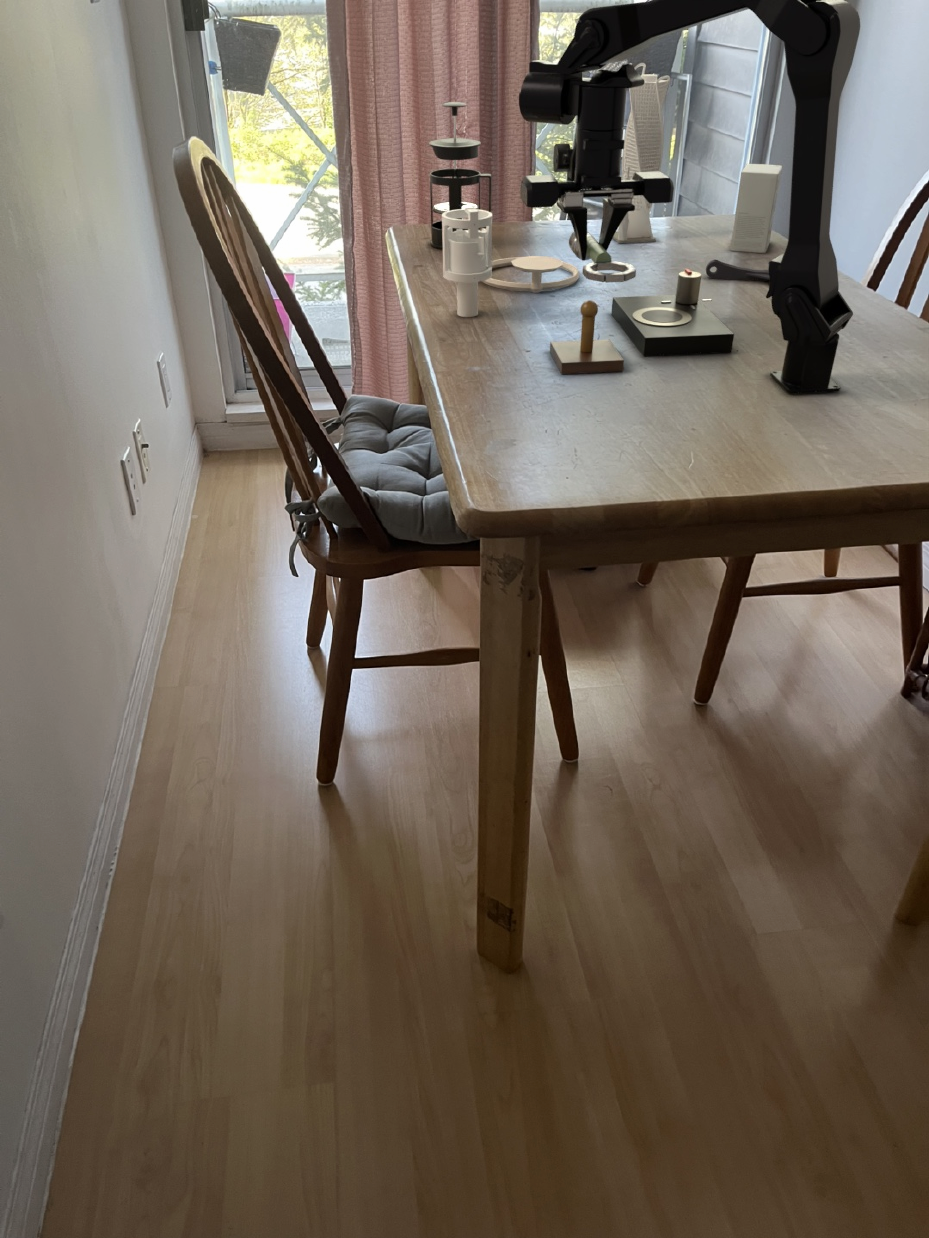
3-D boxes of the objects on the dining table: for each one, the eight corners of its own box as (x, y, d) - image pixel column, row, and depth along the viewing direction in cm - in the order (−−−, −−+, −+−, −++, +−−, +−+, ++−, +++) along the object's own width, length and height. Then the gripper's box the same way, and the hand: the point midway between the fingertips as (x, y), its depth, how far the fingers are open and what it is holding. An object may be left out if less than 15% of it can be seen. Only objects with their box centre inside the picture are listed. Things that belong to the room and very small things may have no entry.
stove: (743, 352, 126) (747, 332, 124) (643, 356, 125) (645, 336, 123) (701, 310, 141) (703, 292, 139) (610, 314, 139) (612, 295, 138)
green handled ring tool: (638, 294, 116) (641, 264, 114) (588, 296, 115) (590, 266, 113) (598, 250, 133) (600, 224, 131) (555, 252, 132) (556, 225, 130)
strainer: (451, 323, 136) (449, 213, 128) (438, 309, 142) (436, 202, 133) (497, 318, 138) (499, 209, 129) (483, 304, 143) (483, 199, 135)
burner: (699, 325, 127) (699, 324, 127) (641, 328, 126) (641, 326, 126) (681, 307, 134) (681, 306, 134) (626, 309, 133) (626, 308, 133)
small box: (734, 240, 175) (746, 163, 167) (770, 243, 173) (783, 165, 165) (729, 251, 168) (740, 171, 161) (765, 253, 167) (779, 173, 159)
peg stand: (623, 371, 120) (628, 309, 116) (561, 374, 120) (564, 311, 115) (608, 350, 127) (613, 290, 122) (549, 352, 126) (552, 292, 121)
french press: (424, 250, 170) (420, 106, 157) (428, 237, 178) (425, 99, 164) (490, 251, 169) (491, 106, 156) (491, 238, 177) (492, 99, 164)
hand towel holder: (569, 236, 161) (596, 268, 144) (568, 262, 163) (594, 297, 146) (470, 238, 159) (486, 271, 142) (470, 265, 162) (486, 301, 145)
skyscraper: (605, 232, 180) (618, 62, 164) (646, 230, 181) (662, 62, 165) (619, 243, 173) (634, 67, 157) (661, 241, 174) (680, 66, 158)
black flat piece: (704, 265, 161) (706, 248, 159) (794, 269, 158) (797, 252, 157) (705, 290, 149) (708, 272, 147) (803, 295, 147) (807, 276, 145)
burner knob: (700, 304, 135) (704, 274, 132) (679, 305, 134) (682, 275, 132) (693, 297, 137) (697, 268, 135) (672, 298, 137) (676, 269, 135)
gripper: (656, 117, 123) (644, 242, 132) (514, 121, 122) (512, 247, 131) (681, 129, 114) (667, 263, 123) (529, 134, 113) (525, 268, 122)
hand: (591, 259), depth 125 cm, fingers closed on green handled ring tool, 2 cm apart
